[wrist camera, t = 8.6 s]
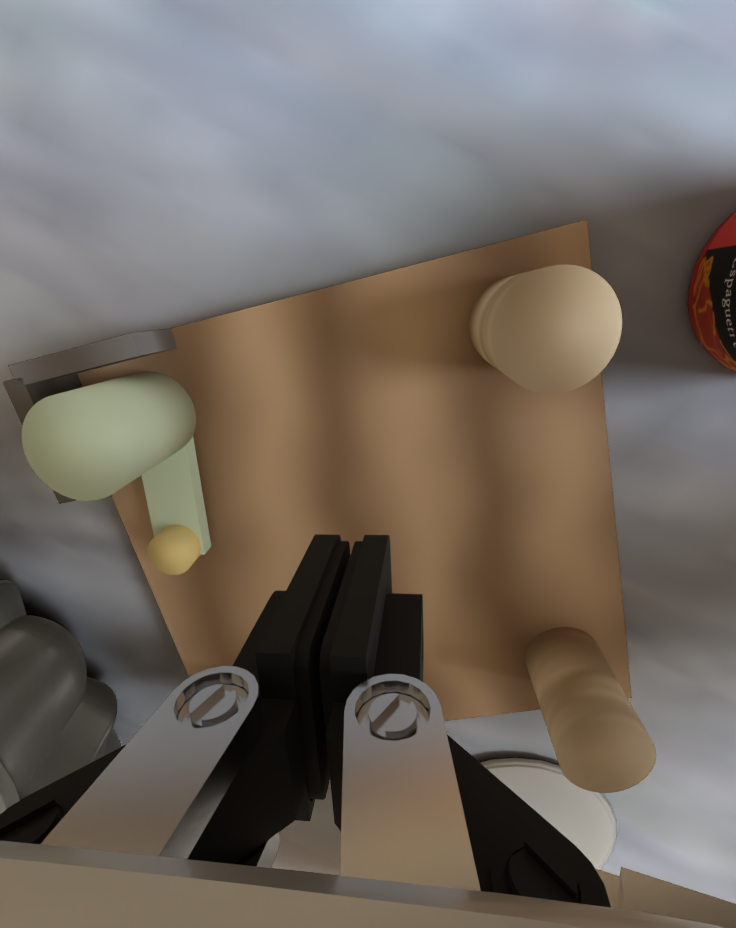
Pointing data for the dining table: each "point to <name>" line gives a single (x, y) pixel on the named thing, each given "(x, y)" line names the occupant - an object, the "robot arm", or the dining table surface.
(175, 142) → the dining table surface
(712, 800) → the dining table surface
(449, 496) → the stool board
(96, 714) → the bundt pan
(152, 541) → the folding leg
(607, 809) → the chalice
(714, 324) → the canned food
